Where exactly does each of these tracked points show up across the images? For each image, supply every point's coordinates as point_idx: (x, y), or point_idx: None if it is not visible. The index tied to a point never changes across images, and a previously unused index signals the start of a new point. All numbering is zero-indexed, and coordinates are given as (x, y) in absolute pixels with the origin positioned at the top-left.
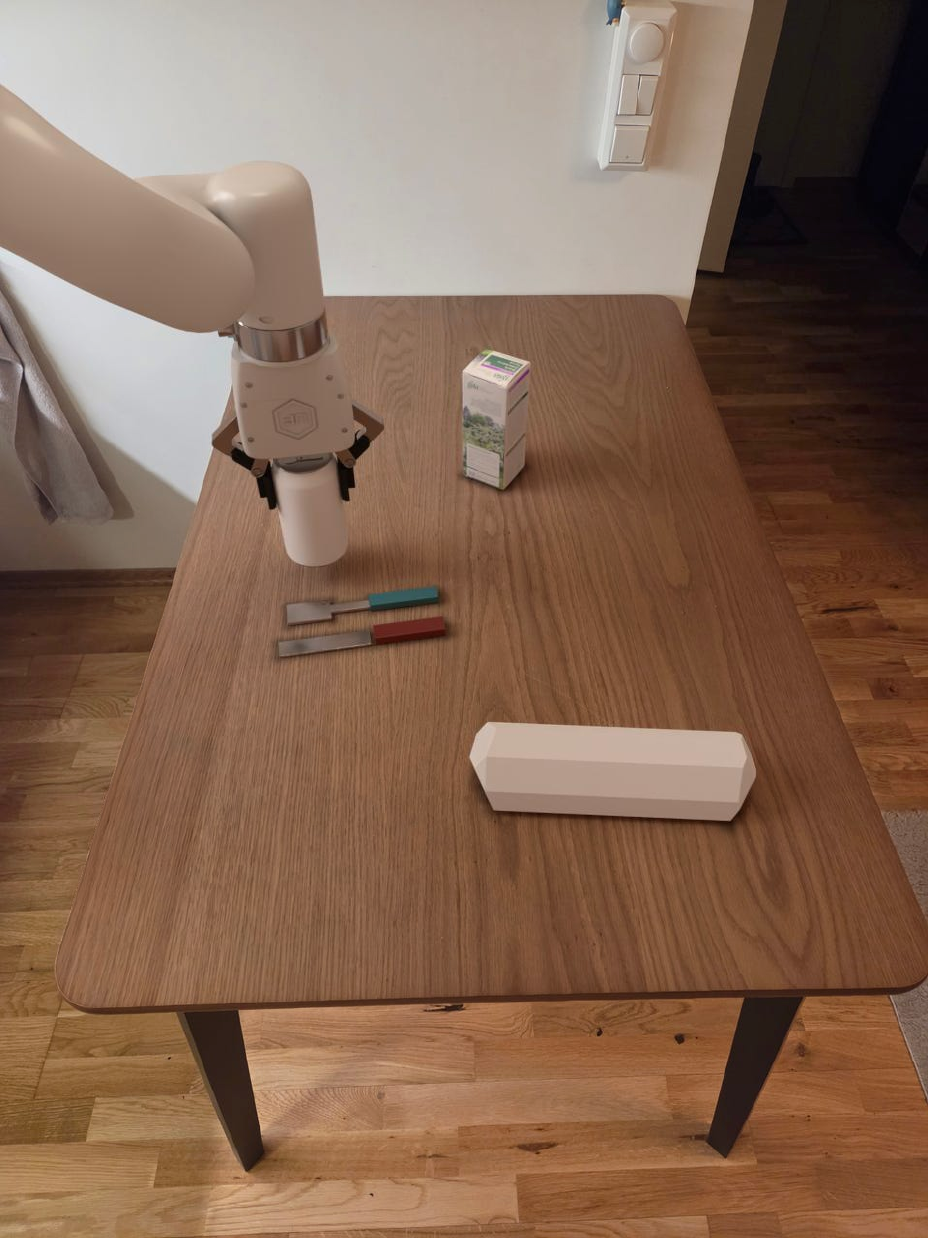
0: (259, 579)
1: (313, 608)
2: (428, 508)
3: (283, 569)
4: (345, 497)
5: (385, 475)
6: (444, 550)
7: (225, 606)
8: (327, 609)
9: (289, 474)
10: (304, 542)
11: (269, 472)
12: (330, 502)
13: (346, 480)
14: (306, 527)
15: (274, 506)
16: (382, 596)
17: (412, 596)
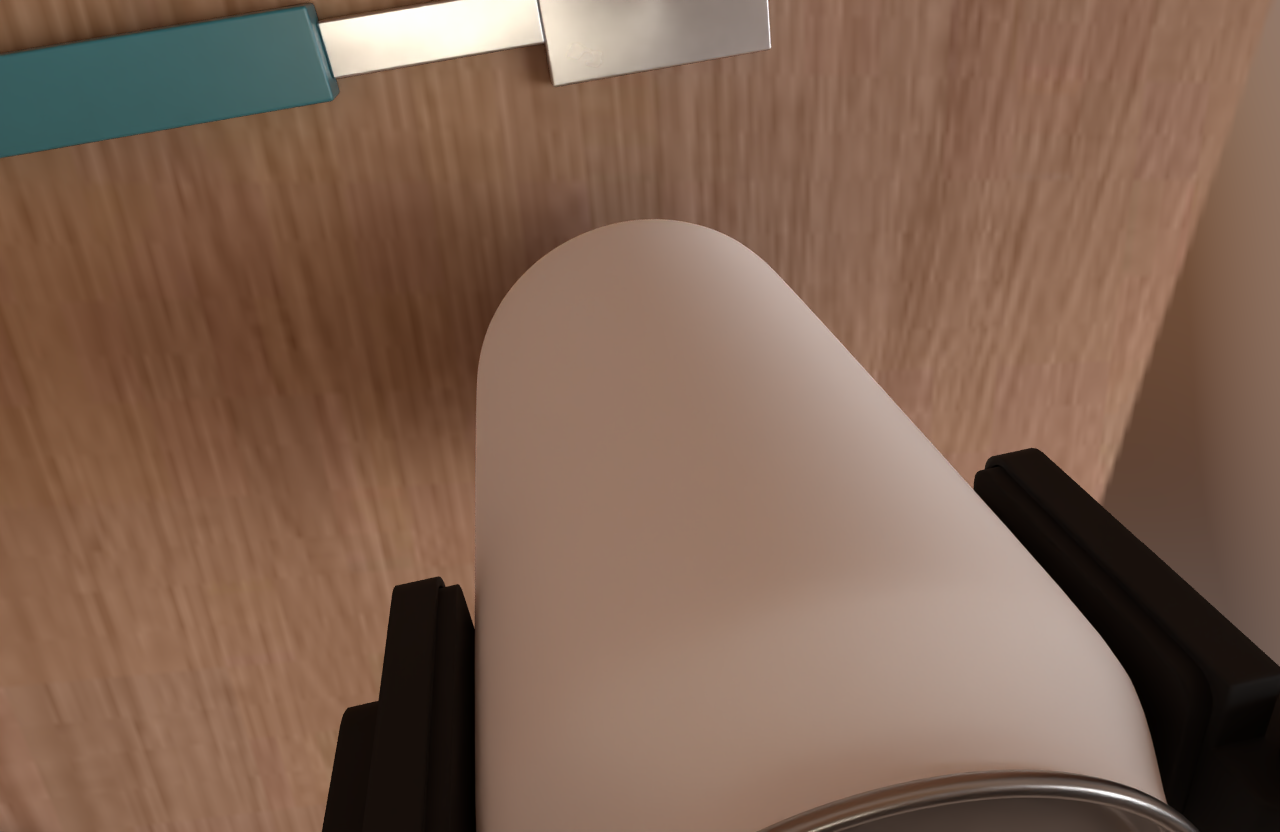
0: (892, 242)
1: (632, 16)
2: (181, 684)
3: None
4: (424, 603)
5: None
6: (17, 455)
7: (1049, 62)
8: (556, 5)
9: (1062, 751)
10: (725, 281)
11: (1184, 756)
12: (543, 525)
13: (383, 761)
14: (730, 333)
15: (1002, 472)
16: (245, 79)
17: (58, 80)
